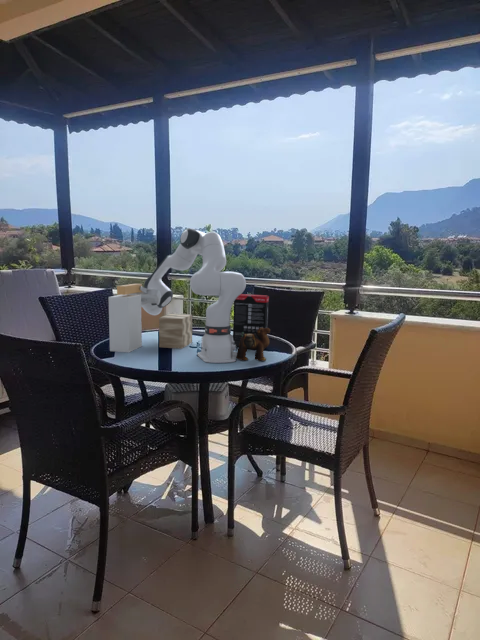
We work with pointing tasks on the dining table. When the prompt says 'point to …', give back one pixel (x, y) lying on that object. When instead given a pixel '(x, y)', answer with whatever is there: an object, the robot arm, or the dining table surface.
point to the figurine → (253, 344)
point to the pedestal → (175, 330)
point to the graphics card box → (249, 315)
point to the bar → (128, 289)
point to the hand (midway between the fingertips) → (135, 287)
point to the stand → (125, 323)
